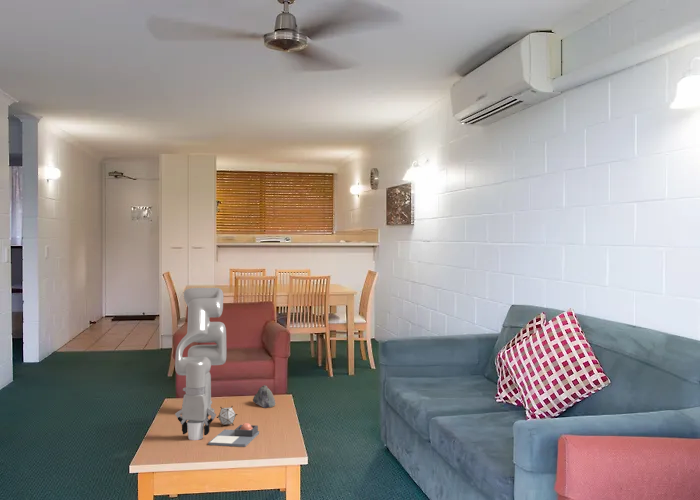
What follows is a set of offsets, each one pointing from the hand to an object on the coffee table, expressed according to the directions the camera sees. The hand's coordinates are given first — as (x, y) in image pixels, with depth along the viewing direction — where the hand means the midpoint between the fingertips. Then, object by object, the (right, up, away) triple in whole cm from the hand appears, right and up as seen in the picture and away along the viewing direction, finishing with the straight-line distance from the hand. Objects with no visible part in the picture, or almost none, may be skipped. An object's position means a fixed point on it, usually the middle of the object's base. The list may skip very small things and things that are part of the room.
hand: (195, 433), depth 262 cm
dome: (+20, 0, +2) cm, 20 cm away
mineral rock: (+20, -2, +54) cm, 58 cm away
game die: (+9, -2, +19) cm, 21 cm away
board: (+16, -2, -2) cm, 16 cm away
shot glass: (0, -2, 0) cm, 2 cm away
